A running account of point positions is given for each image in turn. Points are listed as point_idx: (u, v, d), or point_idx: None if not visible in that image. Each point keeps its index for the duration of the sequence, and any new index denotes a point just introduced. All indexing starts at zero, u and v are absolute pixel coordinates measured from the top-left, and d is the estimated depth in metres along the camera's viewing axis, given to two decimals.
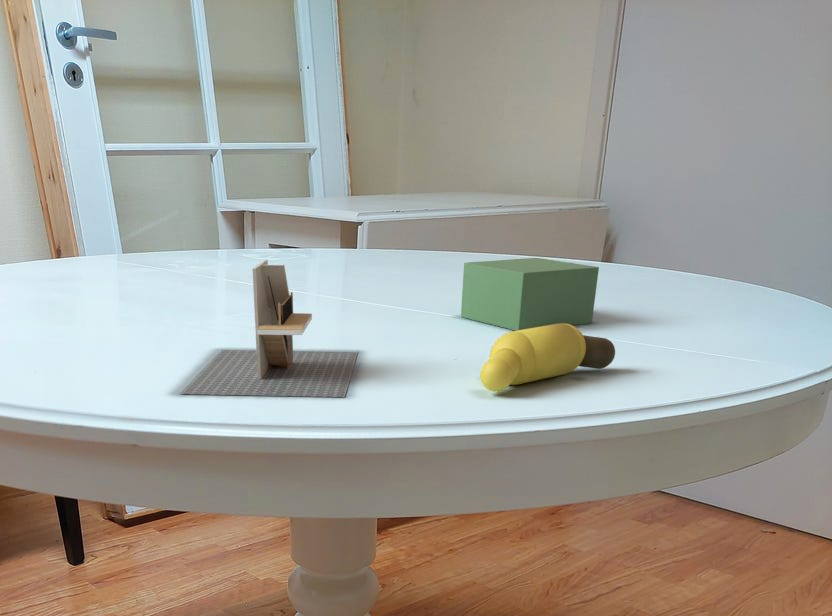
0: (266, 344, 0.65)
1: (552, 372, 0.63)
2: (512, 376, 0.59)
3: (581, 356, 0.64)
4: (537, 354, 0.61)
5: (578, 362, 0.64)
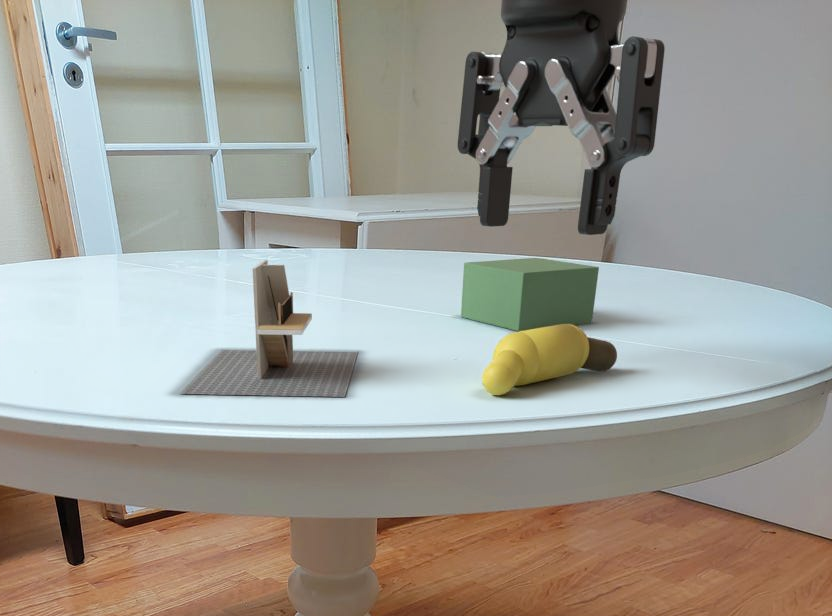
0: (266, 344, 0.65)
1: (553, 376, 0.63)
2: (514, 382, 0.59)
3: (583, 361, 0.64)
4: (541, 360, 0.61)
5: (579, 366, 0.64)
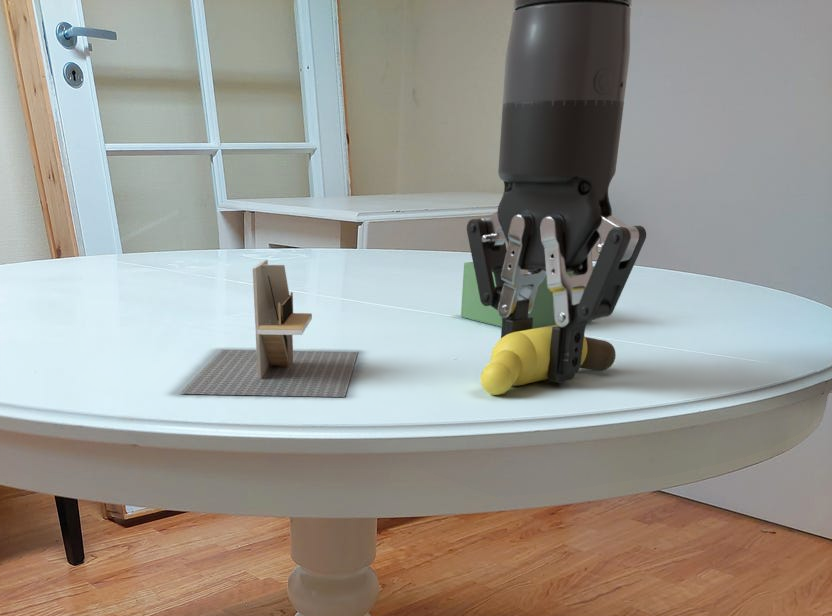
0: (266, 344, 0.65)
1: None
2: (512, 381, 0.59)
3: (582, 360, 0.64)
4: (539, 359, 0.61)
5: None
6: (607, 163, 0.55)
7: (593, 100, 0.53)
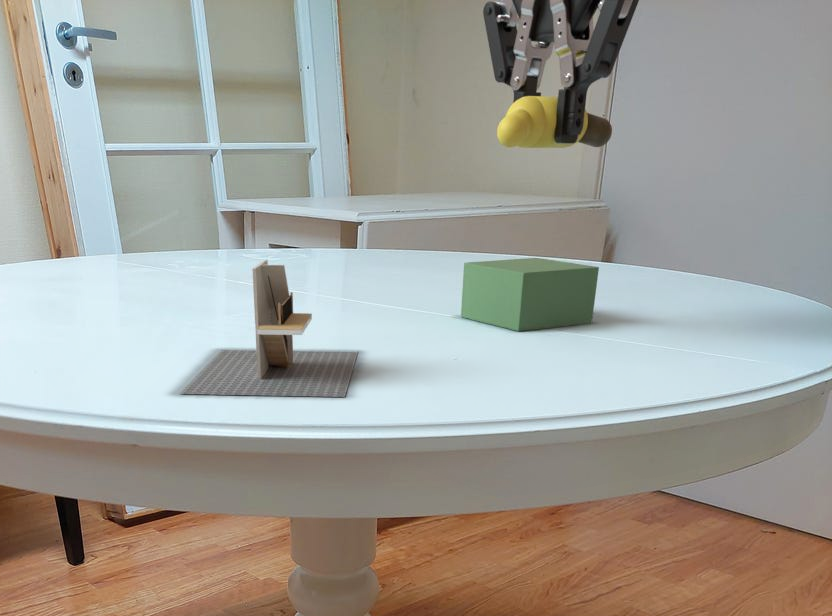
0: (266, 344, 0.65)
1: None
2: (524, 133, 0.69)
3: (583, 130, 0.73)
4: (547, 118, 0.70)
5: (580, 135, 0.74)
6: None
7: None
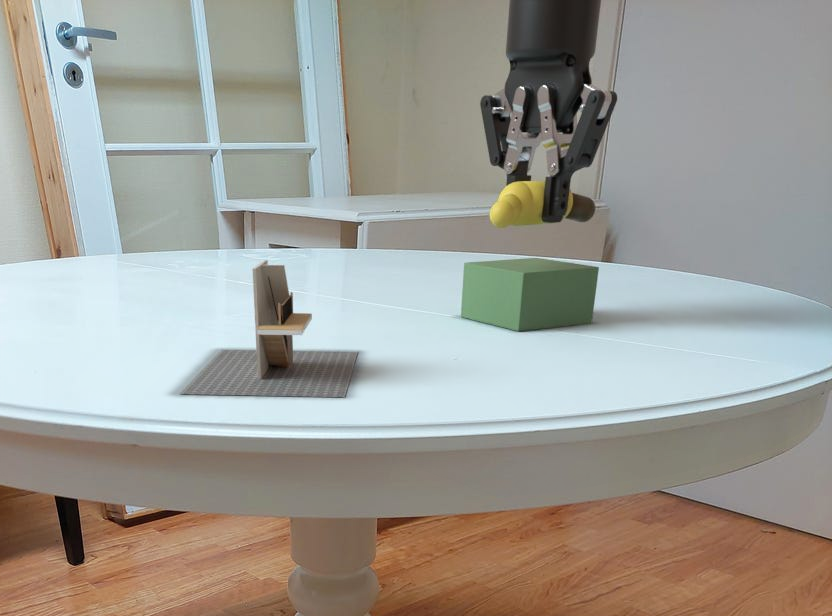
0: (266, 344, 0.65)
1: None
2: (514, 216, 0.77)
3: (568, 209, 0.82)
4: (535, 202, 0.79)
5: (565, 214, 0.82)
6: (588, 42, 0.73)
7: None
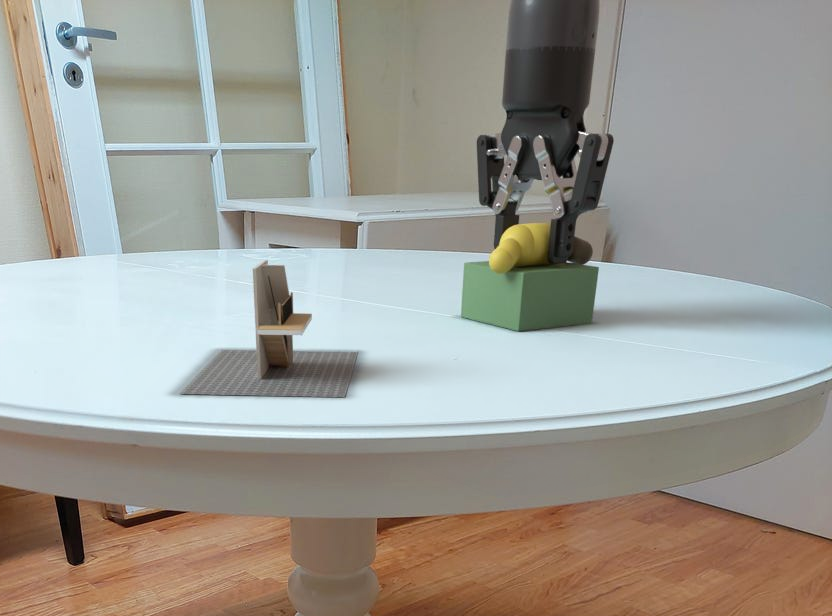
0: (266, 344, 0.65)
1: (541, 263, 0.83)
2: (512, 266, 0.79)
3: None
4: (535, 251, 0.80)
5: None
6: (582, 95, 0.75)
7: (572, 46, 0.72)
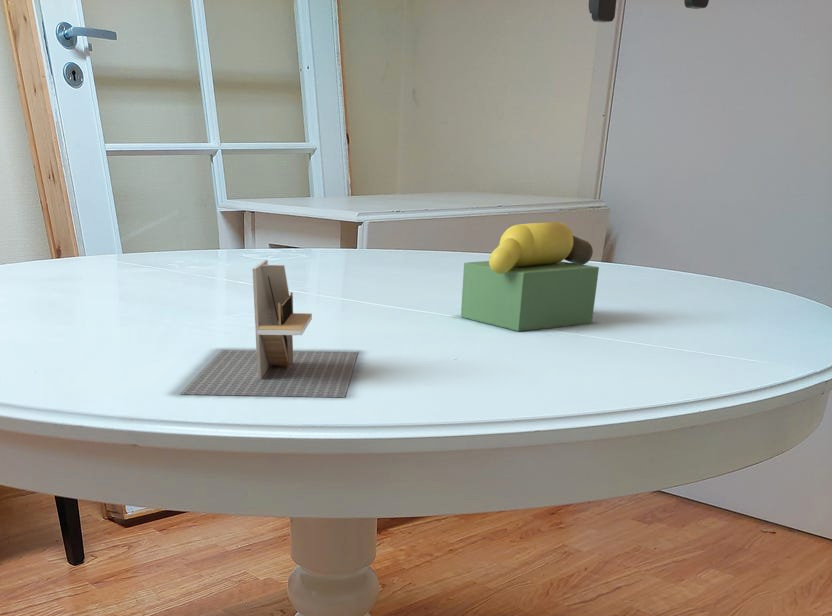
0: (266, 344, 0.65)
1: (541, 263, 0.83)
2: (512, 266, 0.79)
3: (566, 255, 0.84)
4: (535, 251, 0.80)
5: (562, 259, 0.84)
6: None
7: None
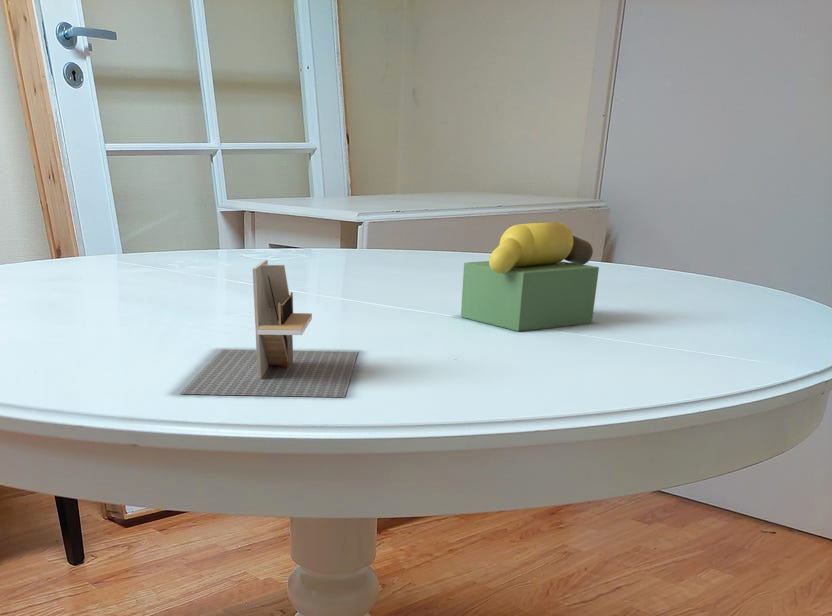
0: (266, 344, 0.65)
1: (541, 263, 0.83)
2: (512, 266, 0.79)
3: (566, 255, 0.84)
4: (535, 251, 0.80)
5: (562, 259, 0.84)
6: None
7: None
